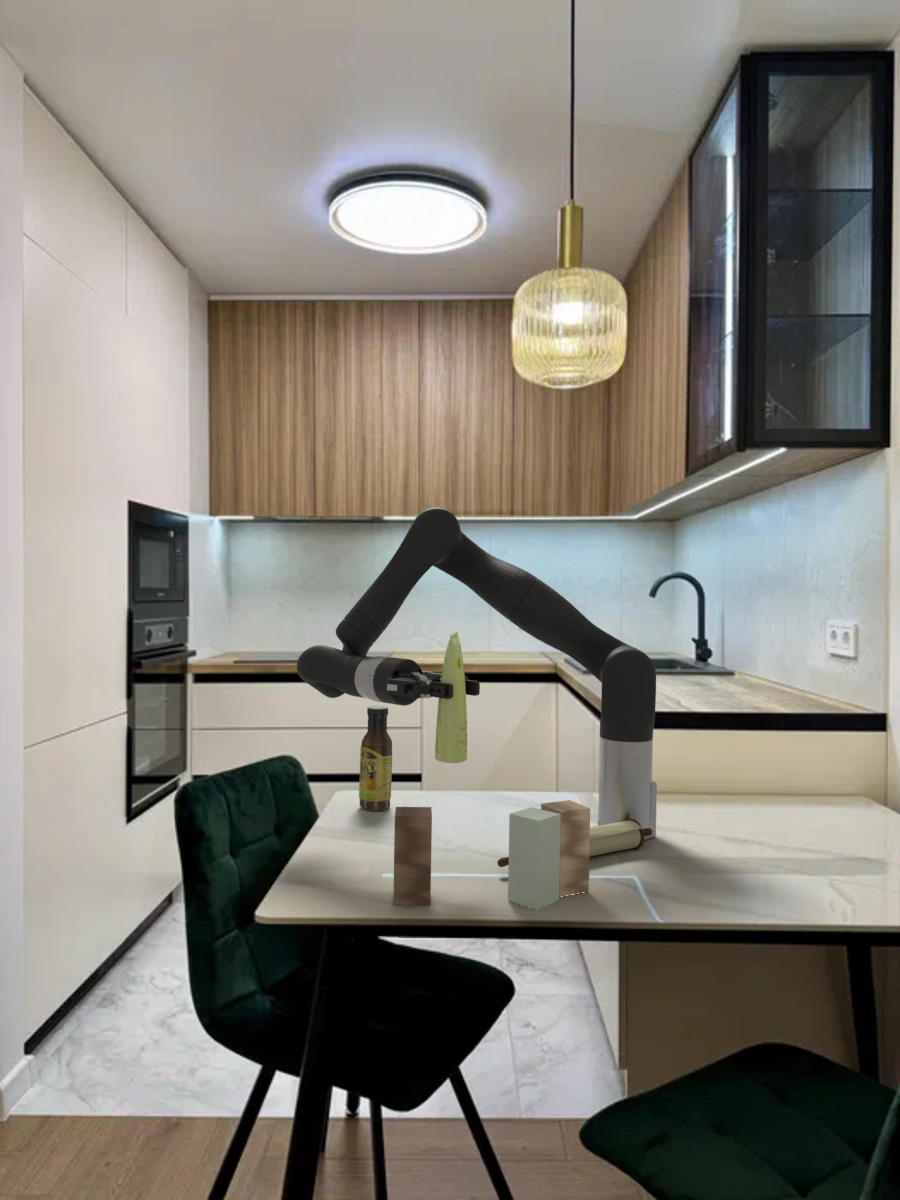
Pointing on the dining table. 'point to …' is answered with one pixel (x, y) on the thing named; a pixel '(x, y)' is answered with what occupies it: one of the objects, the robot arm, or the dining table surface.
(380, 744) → the sauce bottle
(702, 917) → the dining table surface
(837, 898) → the dining table surface
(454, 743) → the tube
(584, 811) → the oak block
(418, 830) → the walnut block
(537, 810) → the sage block
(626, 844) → the rolling pin
